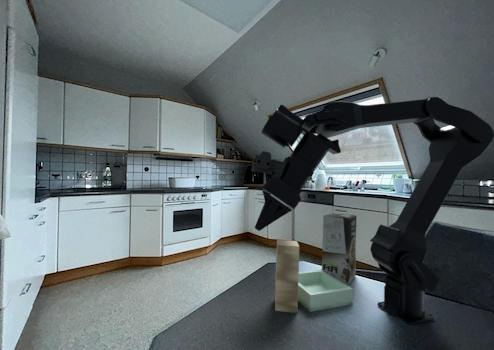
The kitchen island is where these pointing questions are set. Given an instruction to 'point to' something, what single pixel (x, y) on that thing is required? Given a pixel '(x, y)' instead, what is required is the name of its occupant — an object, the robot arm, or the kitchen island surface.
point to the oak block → (287, 276)
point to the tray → (322, 291)
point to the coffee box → (339, 246)
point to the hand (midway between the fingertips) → (259, 224)
